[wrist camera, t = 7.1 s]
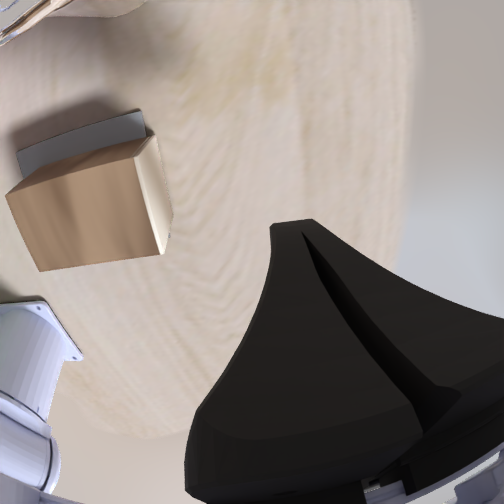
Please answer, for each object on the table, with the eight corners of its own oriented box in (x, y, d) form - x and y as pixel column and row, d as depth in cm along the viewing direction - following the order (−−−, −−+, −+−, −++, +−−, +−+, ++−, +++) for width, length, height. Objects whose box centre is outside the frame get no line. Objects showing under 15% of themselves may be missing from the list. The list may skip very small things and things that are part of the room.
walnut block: (173, 215, 18) (64, 235, 17) (155, 134, 15) (39, 167, 14) (164, 253, 14) (39, 272, 14) (137, 156, 11) (4, 195, 11)
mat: (56, 254, 18) (55, 256, 18) (17, 151, 14) (15, 152, 13) (170, 235, 19) (169, 237, 18) (141, 110, 14) (140, 111, 14)
